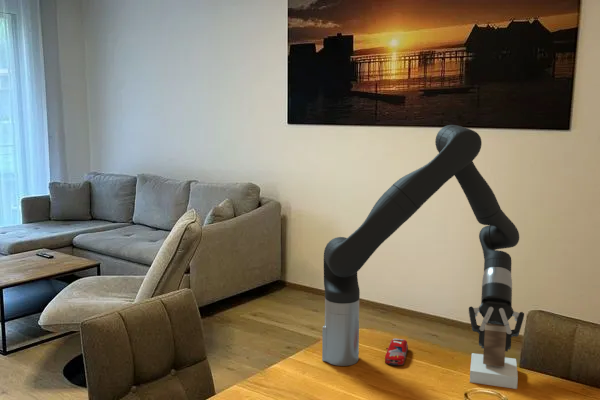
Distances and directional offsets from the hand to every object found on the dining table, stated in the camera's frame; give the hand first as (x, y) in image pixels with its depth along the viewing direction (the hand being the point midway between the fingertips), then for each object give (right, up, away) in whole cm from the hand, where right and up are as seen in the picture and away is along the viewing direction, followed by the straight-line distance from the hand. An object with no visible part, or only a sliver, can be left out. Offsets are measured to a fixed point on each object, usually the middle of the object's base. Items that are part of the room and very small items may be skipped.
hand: (494, 348), depth 138 cm
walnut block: (+1, -4, +2) cm, 5 cm away
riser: (+1, -8, +3) cm, 8 cm away
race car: (-22, -7, +14) cm, 27 cm away
